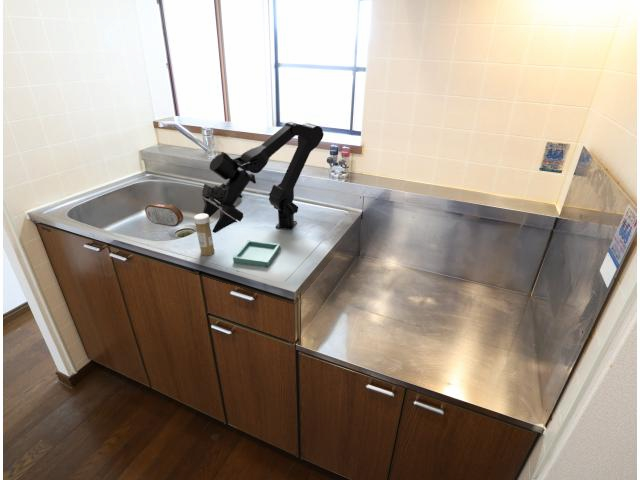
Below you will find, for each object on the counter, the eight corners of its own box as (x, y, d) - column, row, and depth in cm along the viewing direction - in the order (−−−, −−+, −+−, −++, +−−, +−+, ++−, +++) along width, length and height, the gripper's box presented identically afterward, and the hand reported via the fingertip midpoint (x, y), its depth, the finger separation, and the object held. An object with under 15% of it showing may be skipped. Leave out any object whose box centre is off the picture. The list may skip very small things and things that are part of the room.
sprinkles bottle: (217, 252, 123) (211, 215, 116) (204, 257, 120) (198, 220, 114) (210, 247, 126) (204, 211, 119) (198, 252, 123) (191, 215, 117)
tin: (185, 225, 141) (181, 204, 137) (180, 228, 138) (176, 208, 134) (152, 220, 145) (147, 200, 141) (146, 223, 142) (141, 203, 138)
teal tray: (248, 245, 127) (248, 240, 126) (280, 249, 125) (280, 244, 124) (233, 262, 117) (232, 257, 116) (268, 267, 115) (267, 262, 114)
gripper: (203, 166, 121) (176, 206, 120) (229, 182, 108) (199, 226, 107) (228, 184, 129) (203, 221, 128) (255, 200, 116) (227, 242, 115)
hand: (207, 227), depth 119 cm, fingers open, 9 cm apart
